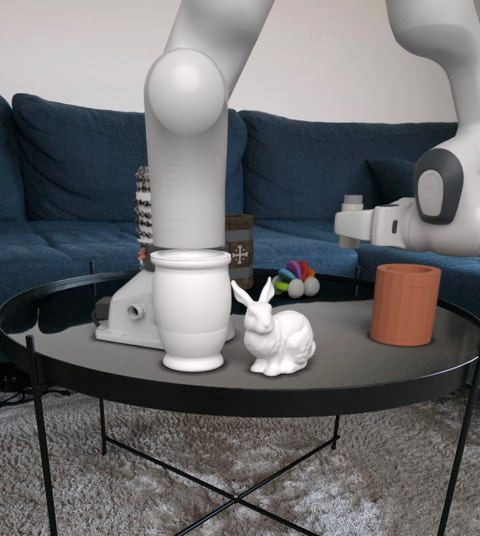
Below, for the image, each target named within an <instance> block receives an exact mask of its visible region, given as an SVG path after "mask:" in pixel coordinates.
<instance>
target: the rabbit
mask: <svg viewBox="0 0 480 536" xmlns="http://www.w3.org/2000/svg"><path fill="white" fill-rule="evenodd" d="M271 281H272V277H271V276H268V278H267V281H266V283H265V285H264V286H263V288H262V290H261V293H260V296H259V299H258V301H254V300H253V299H252V297H251V296H250V295H249V294H248V293H247V291H246V290H245V289H244V290H243V289H241V288H240V287H239V286H238V285H237V284H236V282H235V281H234V280H232V282H231V285H232V287H233V289H234V291H233V294H234V298H235V300H236V301H237V302H239V303H240V304H242V305H244V306H245V307H246V312H245V316H244V320H243V324H244V327H245V329H246V330H245V332H244V337H243V342H244V346H245V349H246V350H247V351H248V352H249V353H250V354H251V355H252V356H253V357H255V358H256V359H255V361H254V363H253V364H252V365H251V367H250V371H251V372H252V373H260V374H261V373H262V374H263V375H264V376H267V377H276V376H278V375H280V374H289V375H290V374H294V373H295V372H297V371H299V370H302V369H304V368H305V367H307V364H308V360H310V359H311V358H312V357H313V356H314V354H315V352H316V348H317V346H316V342H315V341H314V332H313V329H312V326H311V323H310V321H309V319H308V318H307V316H305V315H304V314H303V313H301V312H299V311H295V310H292V309H288V310H287V309H286V310H283V311H282V310H281V311H279V312H277V313H275V314H272V308H273V307H272V305H271V304H270V303H269V302H270V301H271V299H272V298H273V297H274V296H275V293H274V288H273V285H272V283H271Z"/></svg>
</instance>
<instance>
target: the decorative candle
mask: <svg viewBox="0 0 480 536" xmlns="http://www.w3.org/2000/svg"><path fill="white" fill-rule="evenodd" d="M134 176H135V178H136V183H135V185H136V191H135V198H133V200H132V201H133V203H134V204H136V205H137V206H135V207H134V208H133V213H135V215H136V216H135V217H134V218H133V220H134V221H135V223H136V224H138V226H137V227H136V228H135V233H136V234H137V236H136V241H137V242H139V244H140V246H139V252H141V251H142V250H144V249H145V248H147V247H149V246H150V245H151V244H153V236H152V216H151V196H150V181H149V168H148V165H141V166H140V167H139V168H138V170H137V172H136V173H135V174H134ZM138 269H139V271H140V272H141V271H142V270H143V269H144V268H143V259H141V260H139V265H138Z"/></svg>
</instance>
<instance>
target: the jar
mask: <svg viewBox="0 0 480 536" xmlns="http://www.w3.org/2000/svg"><path fill="white" fill-rule="evenodd" d="M150 256H151V262H152V263H153V264H154V265H155V271H154V276H153V285H152V303H153V311H154V316H155V320H156V324H157V330H158V335H159V339H160V341H161V344H162V346H163V348H164V349H163V350H164V351H165V355H164V357H163V359H162V363H163V365H164V366H165V367H166V368H168V369H171V370H174V371H179V372H183V373H184V372H185V373H200V372H208V371H212V370H213V371H214V370H216V369H218V368H220V367H222V366H223V364H224V362H225V361H224V357H223V356H222V354H221V351H222V350H223V348H224V345H225V343H226V341H225V340H226V336H227V331H228V322H229V318H230V315H231V311H232V291H231V284H230V278H229V274H228V270H227V265H228V264H229V263H230V262H231V254H229V253H227V252H223V251H217V250H208V249H173V250H164V251H157V252H153V253H151V254H150Z"/></svg>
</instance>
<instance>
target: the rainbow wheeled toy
mask: <svg viewBox="0 0 480 536" xmlns="http://www.w3.org/2000/svg"><path fill="white" fill-rule="evenodd" d="M277 274H278V275H276V276H274V277H273V278H272V279H271V283H272V285H273V288H274V294H276V295H282V294H284V293H285V292H287V293H288V296H289V297H290V298H291V299H293V300H295V299H299V298H301V297H302V296H303V295H305V296H306V297H313V296H316V295H317V294H318V293H319V291H320V286H321V285H320V282H319V280H318V279H317V278H316V277H315V276H316V271H315V270H314V269H313V268H309V264H308V262H306V260H299V261H295V260H293V259H292V260H289V261H288V262H287V263H286V265H285V268H279V270H278V271H277Z"/></svg>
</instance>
